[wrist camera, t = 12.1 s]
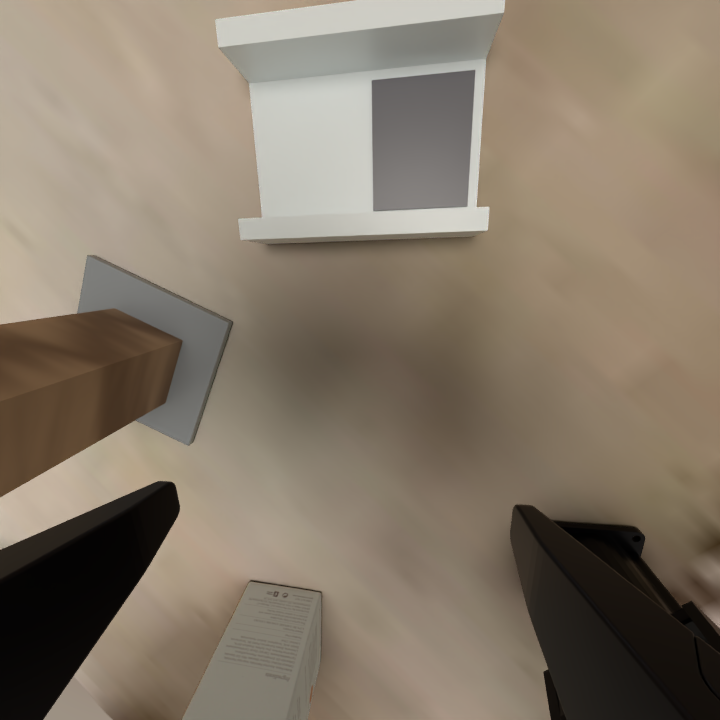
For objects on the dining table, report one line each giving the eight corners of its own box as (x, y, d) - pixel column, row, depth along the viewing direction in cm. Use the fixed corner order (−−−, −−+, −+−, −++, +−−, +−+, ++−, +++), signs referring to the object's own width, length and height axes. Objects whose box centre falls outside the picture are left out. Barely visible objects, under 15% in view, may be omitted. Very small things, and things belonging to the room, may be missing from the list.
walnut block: (182, 340, 22) (-64, 422, 10) (165, 402, 23) (-67, 535, 12) (114, 308, 22) (-207, 354, 10) (101, 372, 23) (-192, 475, 12)
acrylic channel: (486, 36, 16) (506, -20, 13) (473, 236, 18) (487, 230, 15) (249, 63, 17) (215, 19, 14) (266, 244, 20) (240, 239, 17)
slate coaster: (232, 321, 22) (228, 322, 21) (192, 442, 25) (188, 445, 24) (94, 255, 22) (87, 255, 21) (71, 383, 25) (64, 386, 24)
